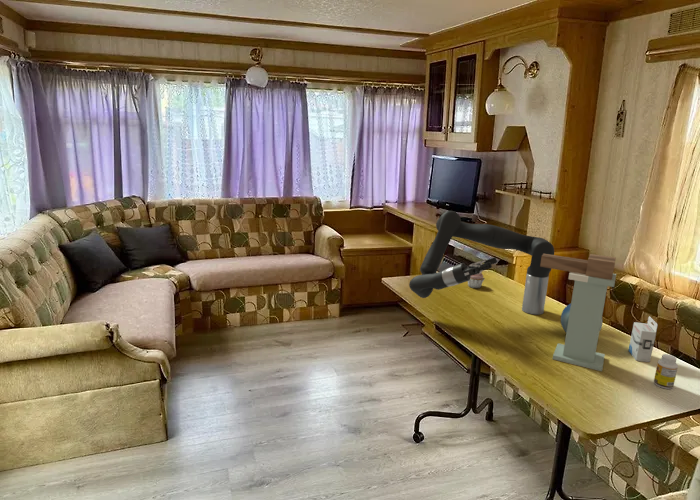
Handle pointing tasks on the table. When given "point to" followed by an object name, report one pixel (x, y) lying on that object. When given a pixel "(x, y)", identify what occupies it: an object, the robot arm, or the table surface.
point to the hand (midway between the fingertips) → (493, 262)
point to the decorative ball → (566, 316)
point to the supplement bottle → (666, 371)
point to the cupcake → (476, 280)
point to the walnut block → (582, 265)
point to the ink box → (643, 340)
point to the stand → (584, 322)
